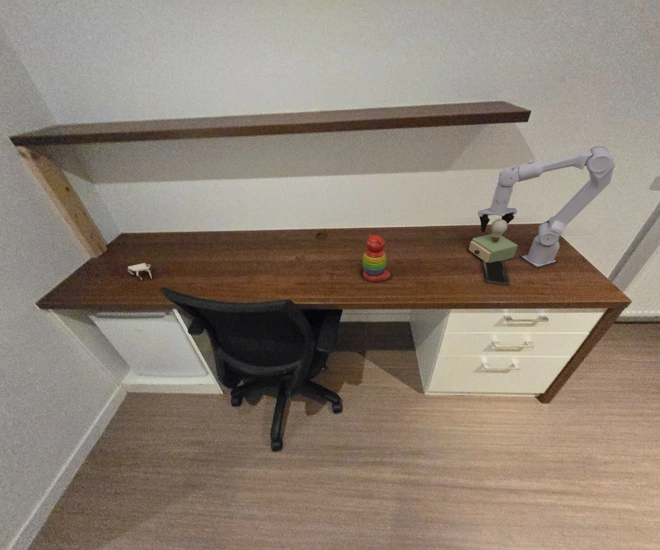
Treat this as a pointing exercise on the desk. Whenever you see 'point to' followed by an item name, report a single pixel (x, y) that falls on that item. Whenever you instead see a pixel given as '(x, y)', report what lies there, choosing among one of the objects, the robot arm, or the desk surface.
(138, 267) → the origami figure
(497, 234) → the light bulb
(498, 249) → the cabinet
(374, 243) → the stacking bear
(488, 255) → the drawer
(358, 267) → the desk surface
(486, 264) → the phone
